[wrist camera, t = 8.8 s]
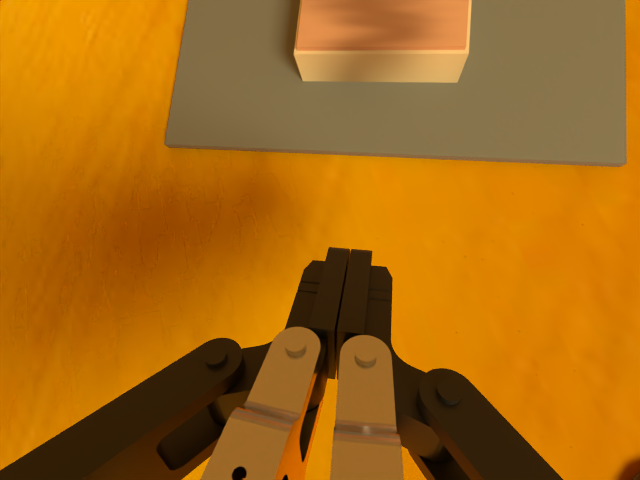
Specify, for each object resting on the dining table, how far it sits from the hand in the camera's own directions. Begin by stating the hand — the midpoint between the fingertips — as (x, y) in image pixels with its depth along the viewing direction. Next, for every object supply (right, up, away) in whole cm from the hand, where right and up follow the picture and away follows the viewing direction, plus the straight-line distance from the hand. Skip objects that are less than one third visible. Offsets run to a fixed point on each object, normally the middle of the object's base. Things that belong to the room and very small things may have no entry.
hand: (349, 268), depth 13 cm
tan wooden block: (+2, +11, +7) cm, 13 cm away
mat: (+3, +14, +9) cm, 17 cm away
